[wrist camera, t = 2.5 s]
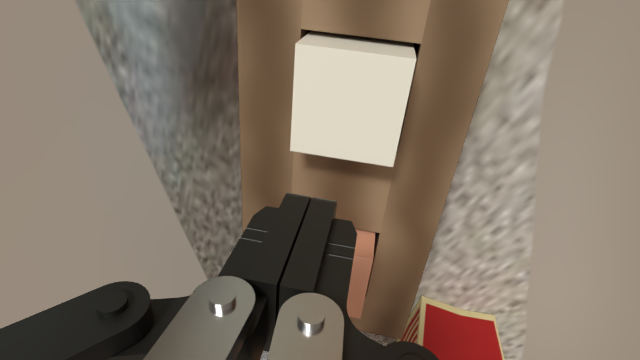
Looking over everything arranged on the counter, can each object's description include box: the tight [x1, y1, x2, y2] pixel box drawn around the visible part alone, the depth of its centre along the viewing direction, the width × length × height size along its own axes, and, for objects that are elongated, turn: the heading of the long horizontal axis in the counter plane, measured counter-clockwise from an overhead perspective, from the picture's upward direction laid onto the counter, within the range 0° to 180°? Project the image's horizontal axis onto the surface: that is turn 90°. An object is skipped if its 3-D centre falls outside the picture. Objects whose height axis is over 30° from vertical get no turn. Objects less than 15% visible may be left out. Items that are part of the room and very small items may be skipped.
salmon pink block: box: [347, 229, 375, 319], centre depth 28 cm, size 6×6×4 cm
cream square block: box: [290, 31, 416, 167], centre depth 21 cm, size 6×6×4 cm
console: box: [236, 0, 509, 339], centre depth 28 cm, size 14×28×6 cm, turn 175°
